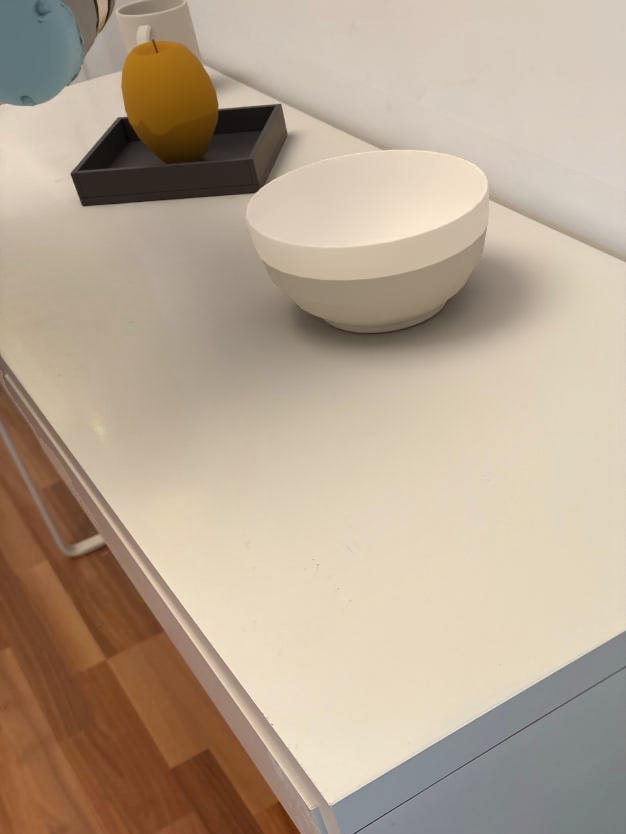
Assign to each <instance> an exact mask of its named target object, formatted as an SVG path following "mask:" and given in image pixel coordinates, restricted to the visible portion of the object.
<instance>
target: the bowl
mask: <svg viewBox="0 0 626 834" xmlns="http://www.w3.org/2000/svg"><path fill="white" fill-rule="evenodd" d="M489 217H490V183H489V180H488V178H487V176H486V173H485V172H484V171H483V170H482V169H481V168H480V167H478V166H477V165H476V164H474V163H473V162H470V161H469V160H467V159H465V158H461V157H458V156H455V155H452V154H449V153H445V152H444V153H443V152H437V151H433V150H420V149H384V150H371V151H363V152H356V153H349V154H344V155H341V156H340V155H339V156H335V157H330V158H326V159H322V160H319V161H315V162H312V163H309V164H305V165H302V166H301V167H298V168H295V169H293V170H290V171H288V172H286V173H283V174H281V175H280V176H278V177H275V178H274V179H272V180H271V181H269V182H268V183H265V184H264V186H263V187H262V188H261V189H260V190H259V191H258V192H255V193H254V195H252V197H251V198H250V199H249V201H248V203H247V205H246V207H245V222H246V224H247V227H248V231H249V234H250V236H251V239H252V243H253V246H254V249H255V251H256V253H257V255H258V257H259V258H260V260H261V262H262V263H263V266H264V267H265V269H266V271H267V273H268V275H269V277H270V279H271V280H272V283H273V284H274V285H275V286H276V287H277V288H278V289H279V290H281V291H282V292H283V294H285V295H286V296H287V297H288V298H289V299H290V300H291V301H292V302H293V303H294V304H296V305H297V306H298V307H299V308H300V309H301V310H302V311H305V312H307V313H308V314H310V315H313V316H315V317H317V318H321V319H322V320H324V322H325V323H327V324H328V325H330V326H332V327H334V328H336V329H339V330H342V331H344V332H345V331H346V332H352V333H360V334H361V333H362V334H378V333H379V334H380V333H388V332H393V331H399V330H403V329H408V328H410V327H413V326H416V325H419V324H421V323H423V322H425V321H427V320H429V319H431V318H433V317H434V316H435V315H437V314H438V313H439V312H440V311H441V310H442V309H443V308H444V307H445V306H446V303H447V302H448V300H449V299H451V298H452V297H453V296H455V295H456V294H458V293H459V292H460V291H461V289H462V288H463V287H464V286H465V285H466V284H467V282H468V280H469V278H470V276H471V274H472V273H473V271H474V269H475V268H476V266H477V264H478V262H479V260H480V259H481V257H482V255H483V254H484V253H483V252H484V248H485V242H486V235H487V230H488V225H489Z"/></svg>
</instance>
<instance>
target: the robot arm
mask: <svg viewBox="0 0 626 834" xmlns="http://www.w3.org/2000/svg"><path fill="white" fill-rule="evenodd" d="M115 5H116V0H0V102H1V103H3V104H6V105H10V106H16V107H35V106H39V105H43V104H45V103H47V102H49V101H51V100H53V99H54V98H55V97H57V96H58V95H59V94H60V93H61V92H62V91H63V90H64V89H65V88H66V87H69V86H70V85H71V84H72V83H73V82H74V81H75V80H76V79H77V78H78V76H79V75H80V73H81V71H82V65H83V64H84V60H85V59H86V56H87V55H88V53H89V51H90V50H91V48H92V46H93V45H94V44H95V41H96V39H97V37H98V36H99V34H100V33H101V32H102V31H103V29H104V28H105V27H106V24H107V23H108V21H110V20H109V19H110V18H111V16H112V14H113V11H114V9H115Z"/></svg>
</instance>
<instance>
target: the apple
mask: <svg viewBox="0 0 626 834" xmlns="http://www.w3.org/2000/svg"><path fill="white" fill-rule="evenodd" d="M203 66H204V65H203ZM203 66H202V64H201V63H200V61H199V60H198V58H197V57H196V56H195V55H194V54H193V53H192V52H191V51H190V50H189V49H188V48H187V47H186V46H184V45H182V44H179V43H176V42H168V41H154V39H153V40H152V42H146V43H144V44H141V45H138V46H137V47H135V48H133V49H132V51H131V52H130V53H129V54H128V53H127V55H126V57H125V60H124V64H123V68H122V70H121V83H120V85H121V86H120V88H121V93H122V100H123V104H124V105H123V106H124V111H125V113H126V117H128V120H129V122H130V124H131V126H132V127H133V129H134V130H135V132H136V134H137V135H138V137H139V138H140V140H141V141H142V142H143V143H144V144H145V145H146V146H147V147H148V148H149V149H150V150H151V151H152V152H153V153H154V154H155V155H156V156H157V157H158V158H159V159H161V160H162V161H163V162H164V163H166V164H172V163H184V162H197V161H199V160H200V159H201V158H202V157H203V156H204V155H205V154H206V153H207V150H208V147H209V145H210V142H211V139H212V136H213V133H214V130H215V127H216V124H217V121H218V109H219V105H220V104H219V100H218V95H217V90H216V88H215V86H214V84H213V81H212V79H211V77H210V75H209V73H208V72H207V70H206V69H205V67H203Z"/></svg>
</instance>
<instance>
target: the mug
mask: <svg viewBox="0 0 626 834" xmlns="http://www.w3.org/2000/svg"><path fill="white" fill-rule="evenodd" d="M115 17H116V20H117V24H118V28H119V30H120V33H121V37H122V40H123V43H124V47H125V50H126V54H127V55H128V54H129V53H130V52H131V51H132V49H133V48H135V47H137V46H138V45H141V44H144V43H146V42H152V40H153V39H154V41H168V42H176V43H179V44H182V45H184V46H186V47H187V48H188V49H189V50H190V51H191V52H192V53H193V54H194V55H195V56H196V57H197V58H198V60H199V61H200V63H201V64H202V66H203V67H204V63H203V58H202V55H201V52H200V47H199V43H198V39H197V35H196V32H195V27H194V23H193V20H192V16H191V12H190V8H189V4H188V1H187V0H135V1H132V2H129V3H126V4H123V5H121V6H119V7H118V8H117V9H116V10H115ZM204 68H205V67H204Z"/></svg>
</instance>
